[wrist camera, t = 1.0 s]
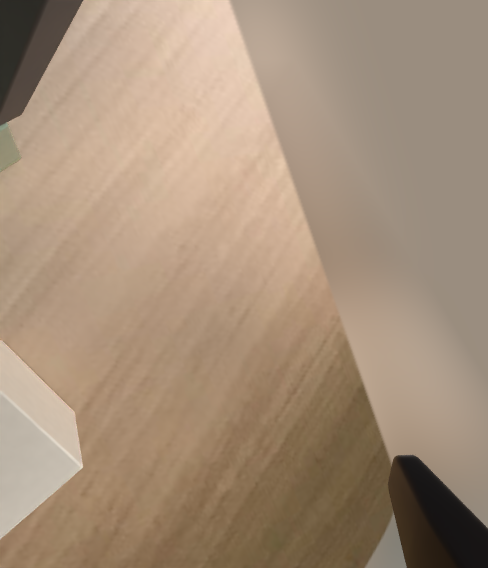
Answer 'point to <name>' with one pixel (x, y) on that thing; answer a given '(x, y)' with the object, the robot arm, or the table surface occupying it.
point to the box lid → (28, 47)
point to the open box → (7, 148)
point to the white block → (32, 441)
